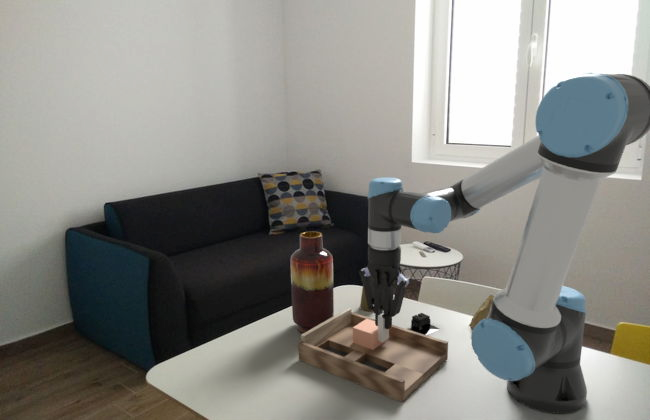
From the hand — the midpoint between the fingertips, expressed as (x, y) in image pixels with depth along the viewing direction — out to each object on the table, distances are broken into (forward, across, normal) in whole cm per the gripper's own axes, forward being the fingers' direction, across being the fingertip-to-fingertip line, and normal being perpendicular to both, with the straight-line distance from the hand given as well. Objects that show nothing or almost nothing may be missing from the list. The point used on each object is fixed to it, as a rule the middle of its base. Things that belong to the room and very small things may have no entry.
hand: (383, 339), depth 122 cm
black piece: (+4, -2, -16) cm, 17 cm away
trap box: (+4, 0, +4) cm, 5 cm away
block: (+2, +4, 0) cm, 4 cm away
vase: (+4, +22, 0) cm, 23 cm away
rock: (+4, -16, -23) cm, 28 cm away
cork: (+4, +17, -20) cm, 27 cm away
